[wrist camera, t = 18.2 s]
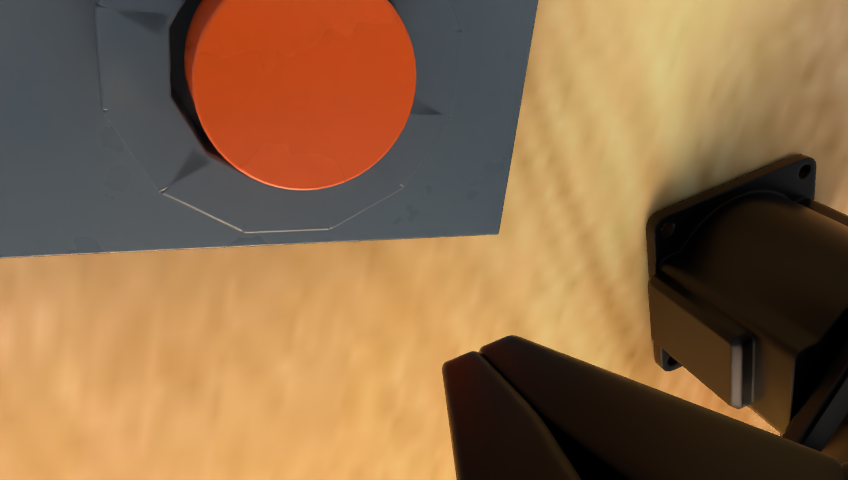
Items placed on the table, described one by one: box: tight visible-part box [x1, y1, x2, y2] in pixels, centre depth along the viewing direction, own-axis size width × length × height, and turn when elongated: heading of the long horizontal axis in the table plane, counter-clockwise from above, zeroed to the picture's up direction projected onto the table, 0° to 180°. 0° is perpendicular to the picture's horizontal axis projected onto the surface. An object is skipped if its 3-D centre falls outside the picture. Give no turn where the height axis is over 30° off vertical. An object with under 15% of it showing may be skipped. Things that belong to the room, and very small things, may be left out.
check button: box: [184, 0, 416, 190], centre depth 13 cm, size 4×4×2 cm
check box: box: [0, 0, 538, 258], centre depth 15 cm, size 12×9×4 cm
